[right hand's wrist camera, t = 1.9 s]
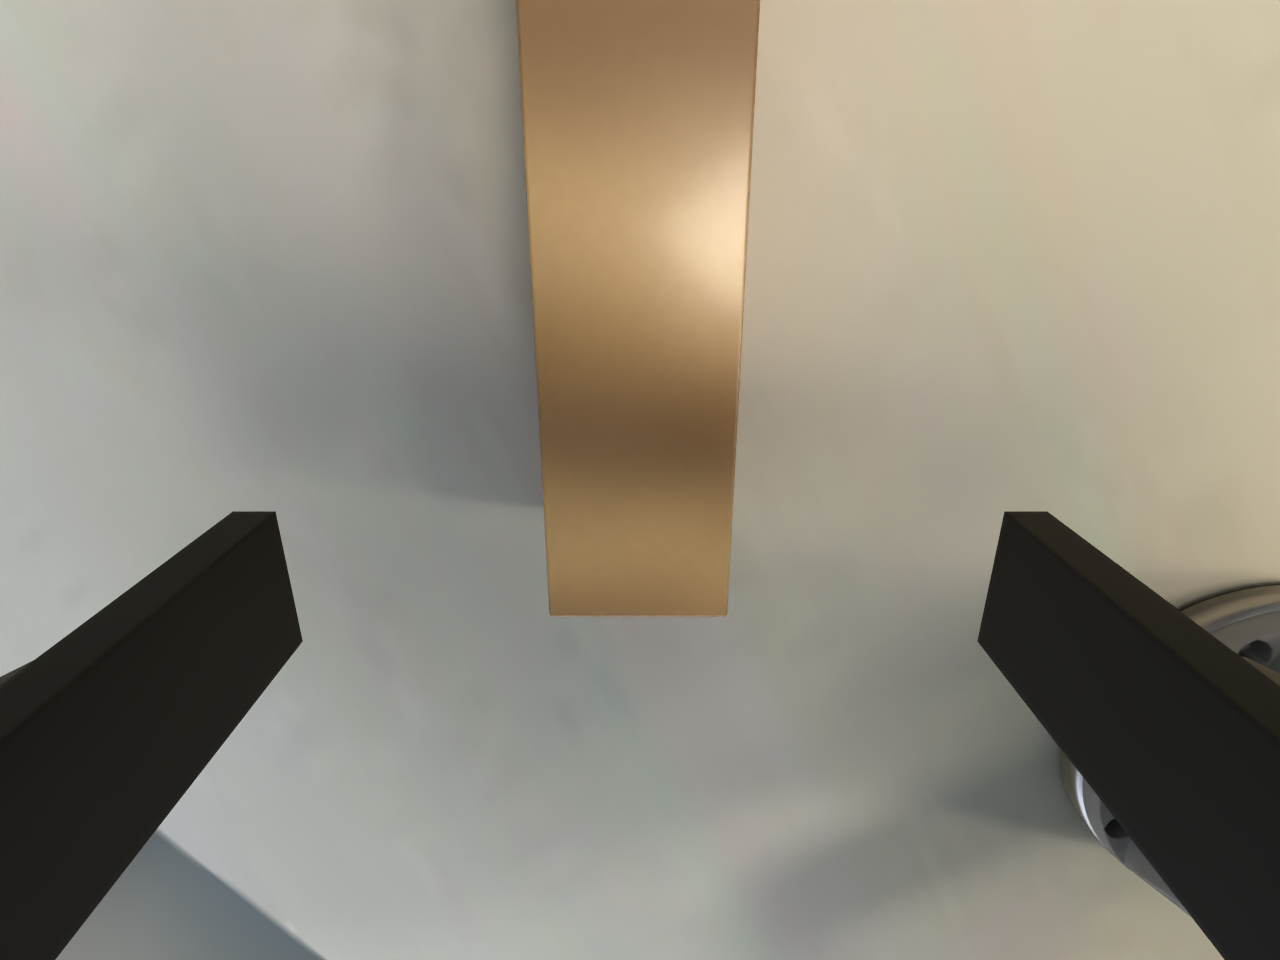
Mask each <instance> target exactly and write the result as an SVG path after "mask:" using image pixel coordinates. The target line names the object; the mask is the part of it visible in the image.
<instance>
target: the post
mask: <svg viewBox="0 0 1280 960" xmlns="http://www.w3.org/2000/svg"><path fill="white" fill-rule="evenodd" d="M516 11H517V30H518V48H519V66H520V84H521V103H522V121H523V139H524V157H525V176H526V194H527V212H528V230H529V248H530V267H531V285H532V303H533V321H534V340H535V358H536V376H537V394H538V413H539V431H540V449H541V467H542V486H543V504H544V522H545V540H546V559H547V577H548V595H549V613H550V616H552V617H725V616H726V615H727V607H728V588H729V569H730V551H731V532H732V513H733V495H734V476H735V458H736V439H737V420H738V402H739V383H740V364H741V346H742V327H743V309H744V290H745V271H746V253H747V234H748V215H749V197H750V178H751V160H752V141H753V122H754V104H755V85H756V67H757V48H758V29H759V11H760V0H516Z"/></svg>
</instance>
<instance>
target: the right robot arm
mask: <svg viewBox="0 0 1280 960" xmlns="http://www.w3.org/2000/svg"><path fill="white" fill-rule="evenodd" d="M301 643H302V636H301V632H300V627H299V622H298V617H297V612H296V608H295V603H294V598H293V593H292V589H291V584H290V579H289V574H288V570H287V565H286V560H285V555H284V550H283V546H282V541H281V536H280V531H279V527H278V522H277V517H276V512H232V513H230V514H229V515H228V516H226V517H225V518H224V519H222V520H221V521H220V522H218V523H217V524H216V525H214V526H213V527H212V528H210V529H209V530H208V531H206V532H205V533H204V534H202V535H201V536H200V537H198V538H197V539H196V540H194V541H193V542H192V543H190V544H189V545H188V546H186V547H185V548H184V549H182V550H181V551H180V552H178V553H177V554H176V555H174V556H173V557H172V558H170V559H169V560H168V561H166V562H165V563H164V564H162V565H161V566H160V567H158V568H157V569H156V570H154V571H153V572H152V573H150V574H149V575H148V576H146V577H145V578H143V579H142V580H141V581H139V582H138V583H137V584H135V585H134V586H133V587H131V588H130V589H129V590H127V591H126V592H125V593H123V594H122V595H121V596H119V597H118V598H117V599H115V600H114V601H113V602H111V603H110V604H109V605H107V606H106V607H105V608H103V609H102V610H101V611H99V612H98V613H97V614H95V615H94V616H93V617H91V618H90V619H89V620H87V621H86V622H85V623H83V624H82V625H81V626H79V627H78V628H77V629H75V630H74V631H73V632H71V633H70V634H69V635H67V636H66V637H65V638H63V639H62V640H61V641H59V642H58V643H57V644H55V645H54V646H53V647H51V648H50V649H49V650H47V651H46V652H45V653H43V654H42V655H41V656H39V657H38V658H37V659H35V660H34V661H32V662H30V663H28V664H26V665H24V666H22V667H20V668H18V669H16V670H14V671H12V672H10V673H8V674H6V675H4V676H2V677H0V960H55V959H56V958H57V957H58V955H59V954H60V953H61V951H62V950H63V949H64V948H65V946H66V945H67V944H68V943H69V941H70V940H71V939H72V937H73V936H74V935H75V933H76V932H77V931H78V930H79V928H80V927H81V926H82V924H83V923H84V922H85V921H86V919H87V918H88V917H89V915H90V914H91V913H92V912H93V910H94V909H95V908H96V906H97V905H98V904H99V903H100V901H101V900H102V899H103V897H104V896H105V895H106V894H107V892H108V891H109V890H110V888H111V887H112V886H113V884H114V883H115V882H116V881H117V879H118V878H119V877H120V876H121V874H122V873H123V872H124V870H125V869H126V868H127V867H128V865H129V864H130V863H131V861H132V860H133V859H134V858H135V856H136V855H137V854H138V852H139V851H140V850H141V849H142V847H143V846H144V845H145V843H146V842H147V841H148V840H149V838H150V837H151V836H152V834H153V833H154V832H155V831H156V829H157V828H158V827H159V825H160V824H161V823H162V822H163V820H164V819H165V818H166V816H167V815H168V814H169V812H170V811H171V810H172V809H173V807H174V806H175V805H176V803H177V802H178V801H179V800H180V798H181V797H182V796H183V794H184V793H185V792H186V791H187V789H188V788H189V787H190V785H191V784H192V783H193V782H194V780H195V779H196V778H197V776H198V775H199V774H200V773H201V771H202V770H203V769H204V767H205V766H206V765H207V764H208V762H209V761H210V760H211V758H212V757H213V756H214V755H215V753H216V752H217V751H218V749H219V748H220V747H221V746H222V744H223V743H224V742H225V740H226V739H227V738H228V737H229V735H230V734H231V733H232V731H233V730H234V729H235V728H236V726H237V725H238V724H239V722H240V721H241V720H242V719H243V717H244V716H245V715H246V713H247V712H248V711H249V710H250V708H251V707H252V706H253V704H254V703H255V702H256V701H257V699H258V698H259V697H260V695H261V694H262V693H263V692H264V690H265V689H266V688H267V686H268V685H269V684H270V682H271V681H272V680H273V679H274V677H275V676H276V675H277V673H278V672H279V671H280V670H281V668H282V667H283V666H284V664H285V663H286V662H287V661H288V659H289V658H290V657H291V655H292V654H293V653H294V652H295V650H296V649H297V648H298V646H299V645H300V644H301ZM978 643H979V644H980V645H981V646H982V648H983V649H984V650H985V652H986V653H987V654H988V655H989V657H990V658H991V659H992V661H993V662H994V663H995V664H996V666H997V667H998V668H999V670H1000V671H1001V672H1002V673H1003V675H1004V676H1005V677H1006V679H1007V680H1008V681H1009V682H1010V684H1011V685H1012V686H1013V688H1014V689H1015V690H1016V692H1017V693H1018V694H1019V695H1020V697H1021V698H1022V699H1023V701H1024V702H1025V703H1026V704H1027V706H1028V707H1029V708H1030V710H1031V711H1032V712H1033V713H1034V715H1035V716H1036V717H1037V719H1038V720H1039V721H1040V722H1041V724H1042V725H1043V726H1044V728H1045V729H1046V730H1047V731H1048V733H1049V734H1050V735H1051V737H1052V738H1053V739H1054V740H1055V742H1056V743H1057V744H1058V746H1059V747H1060V748H1061V749H1062V751H1061V770H1062V777H1063V782H1064V785H1065V789H1066V792H1067V794H1068V796H1069V798H1070V800H1071V802H1072V804H1073V805H1074V807H1075V809H1076V810H1077V812H1078V813H1079V814H1080V816H1081V817H1082V819H1083V820H1084V821H1085V823H1086V824H1087V825H1088V827H1089V828H1090V830H1091V831H1092V832H1093V834H1094V835H1095V836H1096V838H1097V839H1098V840H1099V841H1100V843H1101V844H1102V845H1103V846H1104V847H1105V848H1106V849H1107V850H1108V851H1109V852H1110V853H1111V854H1112V855H1114V856H1115V857H1116V858H1117V859H1118V860H1119V861H1120V862H1121V863H1122V864H1124V865H1125V866H1126V867H1127V868H1128V869H1130V870H1131V871H1132V872H1134V873H1135V874H1136V875H1138V876H1139V877H1140V878H1141V879H1143V880H1144V881H1145V882H1147V883H1148V884H1149V885H1151V886H1152V887H1153V888H1154V889H1156V890H1157V891H1158V892H1160V893H1161V894H1162V895H1164V896H1165V897H1166V898H1167V899H1169V900H1170V901H1171V902H1173V903H1174V904H1175V905H1176V906H1178V907H1179V908H1180V909H1182V910H1183V911H1184V912H1186V913H1187V914H1188V915H1189V916H1191V917H1192V918H1193V919H1194V921H1195V922H1196V923H1197V924H1198V926H1199V927H1200V928H1201V930H1202V931H1203V932H1204V933H1205V935H1206V936H1207V937H1208V939H1209V940H1210V941H1211V943H1212V944H1213V945H1214V946H1215V948H1216V949H1217V950H1218V952H1219V953H1220V954H1221V955H1222V957H1223V958H1224V959H1225V960H1280V585H1273V586H1264V587H1256V588H1250V589H1245V590H1240V591H1236V592H1232V593H1228V594H1224V595H1221V596H1217V597H1215V598H1212V599H1209V600H1206V601H1203V602H1200V603H1198V604H1196V605H1193V606H1191V607H1188V608H1186V609H1184V610H1182V611H1179V610H1178V609H1177V608H1175V607H1174V606H1173V605H1171V604H1170V603H1169V602H1167V601H1166V600H1165V599H1163V598H1162V597H1161V596H1159V595H1158V594H1157V593H1155V592H1154V591H1153V590H1151V589H1150V588H1149V587H1147V586H1146V585H1145V584H1143V583H1142V582H1141V581H1139V580H1138V579H1137V578H1135V577H1134V576H1132V575H1131V574H1130V573H1128V572H1127V571H1126V570H1124V569H1123V568H1122V567H1120V566H1119V565H1118V564H1116V563H1115V562H1114V561H1112V560H1111V559H1110V558H1108V557H1107V556H1106V555H1104V554H1103V553H1102V552H1100V551H1099V550H1098V549H1096V548H1095V547H1094V546H1092V545H1091V544H1090V543H1088V542H1087V541H1086V540H1084V539H1083V538H1082V537H1080V536H1079V535H1078V534H1076V533H1075V532H1074V531H1072V530H1071V529H1070V528H1068V527H1067V526H1066V525H1064V524H1063V523H1062V522H1060V521H1059V520H1058V519H1056V518H1055V517H1054V516H1052V515H1051V514H1050V513H1048V512H1004V517H1003V522H1002V527H1001V531H1000V536H999V541H998V546H997V550H996V555H995V560H994V565H993V570H992V574H991V579H990V584H989V589H988V593H987V598H986V603H985V608H984V612H983V617H982V622H981V627H980V632H979V636H978Z"/></svg>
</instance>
